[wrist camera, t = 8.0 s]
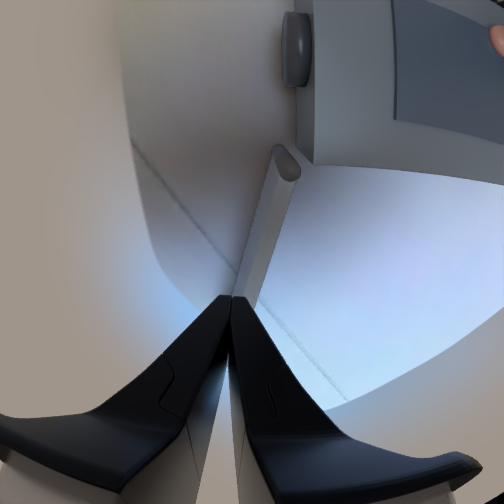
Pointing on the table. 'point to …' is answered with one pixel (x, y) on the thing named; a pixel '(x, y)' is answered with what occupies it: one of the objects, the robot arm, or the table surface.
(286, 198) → the side door
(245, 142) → the table surface
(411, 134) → the camera box
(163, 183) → the table surface
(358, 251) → the table surface
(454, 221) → the table surface
